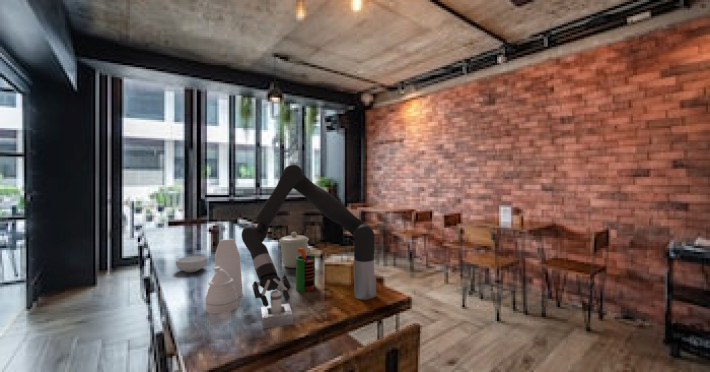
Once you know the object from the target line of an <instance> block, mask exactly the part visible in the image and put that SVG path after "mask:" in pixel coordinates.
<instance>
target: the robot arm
mask: <svg viewBox="0 0 710 372" xmlns="http://www.w3.org/2000/svg"><path fill="white" fill-rule="evenodd" d="M293 190H294V191H295V190H296V191H297V192H298V193H299V194H301V195H302V196H303V197H304V198H305V199H306V200H307V201H308V202H309V203H310V204H311V205H312V206H314V208H316V209H317V211H319V212H320V213H321V214H323V215H324V216H325V217H326V218H328V219H329V220H331V221H332V222H335V223H336V224H338V225H340V226H341V227H343V228H344V229H345V230H346V231H348V233H349V234H351V236H352V237H353V265H354V266H353V270H354V271H353V274H354V275H353V276H354V277H353V279H354V282H353V283H354V286H353V287H354V288H353V289H354V291H353V292H354V298H356V299H358V300H366V301H367V300H371V299H374V298H376V297H377V277H376V275H375V247H376V245H375V244H376V243H375V241H376V240H375V238H376V237H375V232H374V230H373V228H372V226H370V225H369V224H367V223H366V222H364V221H363V220H362V219H360V218H358V217H357V216H355V215H354V214H353V213H352V212H351V211H350V209H348V208H347V207H346V206H345V205H344V204H343V203H342V202H341V201H340V200H339V199H338V198H336V197H335V196H334V195H332V194H331V193H330V192H328V191H327V190H325V189H324V188H322V187H320V186H318V185H316V184H315V183H314V182H313V181H311V180H310V179H309V177H307V176H306V175H305V174H304V172H303V169H302V168H301V167H300V166H299V165H297V164H289V165H287V166H285V168H284V169H283V171H282V173H281V176H280V178H279V180H278V183H277V184H276V186H275V188H274V189H273V191H272V193H271V194H270V195H269V197H268V198H267V200H266V201H265V202H264V203H263V205H262V207H261V209H260V210H259V211H258V213H257V214H256V216H255V220H256V222H257V226H256V227H255V226H253V225H247V226H245V227H244V228H242V231H241V239H242V243H244V245H245V247H246V249H247V250H248V251H249V253H250V257H251V259H252V263H253V267H254V271H255V274H256V275H257V276H256V277H257V278H258V282H257V281H256V280H255V281H253V283H252V286H251V287H252V290H253V294H254V298H255V299H260V300H261V304H262V306H263V307H267V306H270V305H269V301H268V299H267V295H266V293H267V291H268V292H270V291H271V292H272V291H281V293H282V295H283V298H284V302H289V301H290V296H291V295H290V294H289V290H291V288H292V287H291V284H290V282H289V280H288V278H287V275H285V274H284V275H283V276H281V277H279V275H278V272H277V270H276V267H275V264H274V261H273V259H272V256H270V253H269V250H268V247H267V245H266V244H265V243H263V242H264V241H265V239H266V237H267V236H268V232H269V230H270V226H271V224H272V223H273V221H274V219H276V216H277V214H278V213H279V212H280V210H281V208H282V205H283V204H284V202H285V201H286V198H288V195H289V194H290V193H291V192H292V191H293ZM260 287H261V288H262V291H261V293H260V289H259V288H260Z"/></svg>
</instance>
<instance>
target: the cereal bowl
mask: <svg viewBox="0 0 710 372" xmlns="http://www.w3.org/2000/svg"><path fill="white" fill-rule="evenodd" d="M175 260H176V261H175V262H176V263H175V265H176V267H177V269H179V271H184V272H185V273H195V272H198V271H200V270H202V269H203V268H205V267H206V266H207V263H208V257H207V256H204V255H193V256H185V257H181V258H178V259H175Z"/></svg>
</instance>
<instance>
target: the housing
mask: <svg viewBox="0 0 710 372" xmlns="http://www.w3.org/2000/svg"><path fill="white" fill-rule="evenodd" d="M281 312H282V313H278V314H271V305H268V306H267V307H265V306H261V307H260V317H261V318H260V319H261V327H262V329H270V328H276V327H283V326H290V325H294V324H293V323H294V322H293V321H294V320H293V312H292V309H291V306H290V303H281Z"/></svg>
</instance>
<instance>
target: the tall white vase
mask: <svg viewBox="0 0 710 372" xmlns="http://www.w3.org/2000/svg"><path fill="white" fill-rule="evenodd" d="M214 254H215V255H214V267H220V269H223V270H225V271H226V272H227V273H228V275H229V276H230V278H232V279H233V282H232V283H233V285H234V286H235V289H236V292H237V297H240V296H241V297H242V296H244V294H243V292H244V291H243V280H242V268H241V256H240V252H239V249H238V246H237V244H236V241H235V239H234V238H227V239H226V238H224V239H220V240H219V242H218V244H217V247H216V250H215V253H214ZM215 273H216V272H215V271H214V274H215Z"/></svg>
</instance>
